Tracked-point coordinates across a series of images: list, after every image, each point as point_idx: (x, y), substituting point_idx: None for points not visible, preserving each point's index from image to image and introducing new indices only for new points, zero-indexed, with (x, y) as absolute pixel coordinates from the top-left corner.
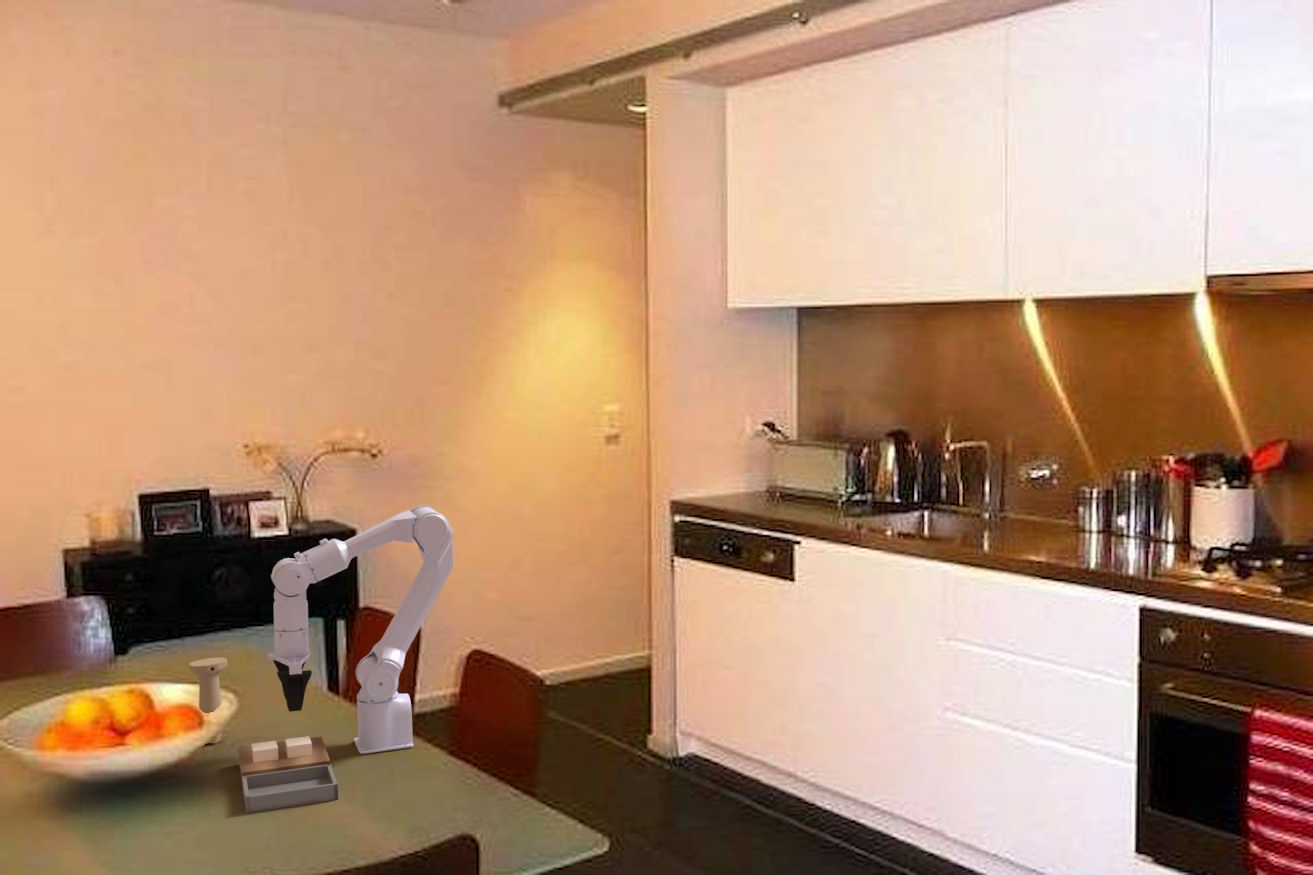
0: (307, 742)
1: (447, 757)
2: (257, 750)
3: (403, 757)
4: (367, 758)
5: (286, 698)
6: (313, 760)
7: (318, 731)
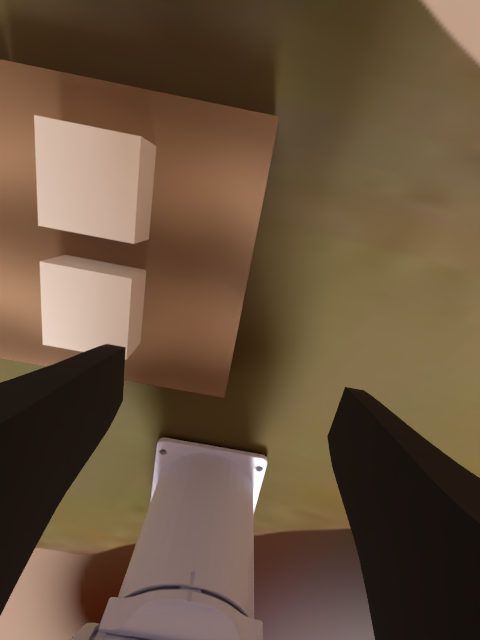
0: (58, 335)
1: (62, 548)
2: (35, 137)
3: (100, 494)
4: (130, 440)
5: (43, 369)
6: (11, 317)
7: (404, 411)
